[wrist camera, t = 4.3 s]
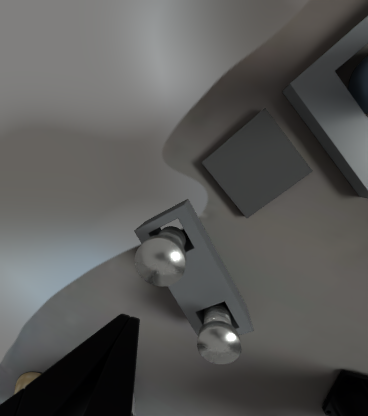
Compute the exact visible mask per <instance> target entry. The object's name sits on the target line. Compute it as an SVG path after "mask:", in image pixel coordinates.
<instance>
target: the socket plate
mask: <svg viewBox="0 0 368 416" xmlns="http://www.w3.org/2000/svg"><path fill="white" fill-rule="evenodd" d="M367 43H368V16H367V17H366V18H365V19H363V20H362V21H361V22H360V23H359V24H358V25H357V26H355V27H354V28H353V29H352V30H351V31H350V32H349V33H347V34H346V35H345V36H344V37H343V38H342V39H340V40H339V41H338V42H337V43H336V44H335V45H334V46H332V47H331V48H330V49H329V50H328V51H327V52H326V53H324V54H323V55H322V56H321V57H320V58H319V59H317V60H316V61H315V62H314V63H313V64H312V65H311V66H309V67H308V68H307V69H306V70H305V71H304V72H302V73H301V74H300V75H299V76H298V77H297V78H296V79H294V80H293V81H292V82H291V83H290V84H289V85H288V86H287V87H286V88H285V89H284V90H283V91H282V92H283V94H284V95H285V96H286V98H287V99H288V100H289V102H290V103H291V104H292V106H293V107H294V109H295V110H296V111H297V113H298V114H299V115H300V117H301V118H302V119H303V121H304V122H305V123H306V125H307V126H308V127H309V129H310V130H311V132H312V133H313V134H314V136H315V137H316V138H317V140H318V141H319V142H320V144H321V145H322V146H323V148H324V149H325V151H326V152H327V153H328V155H329V156H330V157H331V159H332V160H333V161H334V163H335V164H336V165H337V167H338V168H339V169H340V171H341V172H342V174H343V175H344V176H345V178H346V179H347V180H348V182H349V183H350V184H351V186H352V187H353V188H354V190H355V191H356V193H357V194H358V195H359V197H363V198H368V118H367V117H366V115H365V114H364V112H363V111H362V109H361V108H360V107H359V105H358V104H357V102H356V101H355V99H354V98H353V97H352V95H351V94H350V92H349V91H348V90H347V88H346V87H345V85H344V84H343V82H342V81H341V80H340V78H339V77H338V75H337V74H336V72H335V70H336V69H337V68H339V67H340V66H341V65H342V64H343V63H345V62H346V61H347V60H348V59H349V58H351V57H352V56H353V55H354V54H355V53H357V52H358V51H359V50H360V49H361V48H363V47H364V46H365V45H366V44H367Z"/></svg>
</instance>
